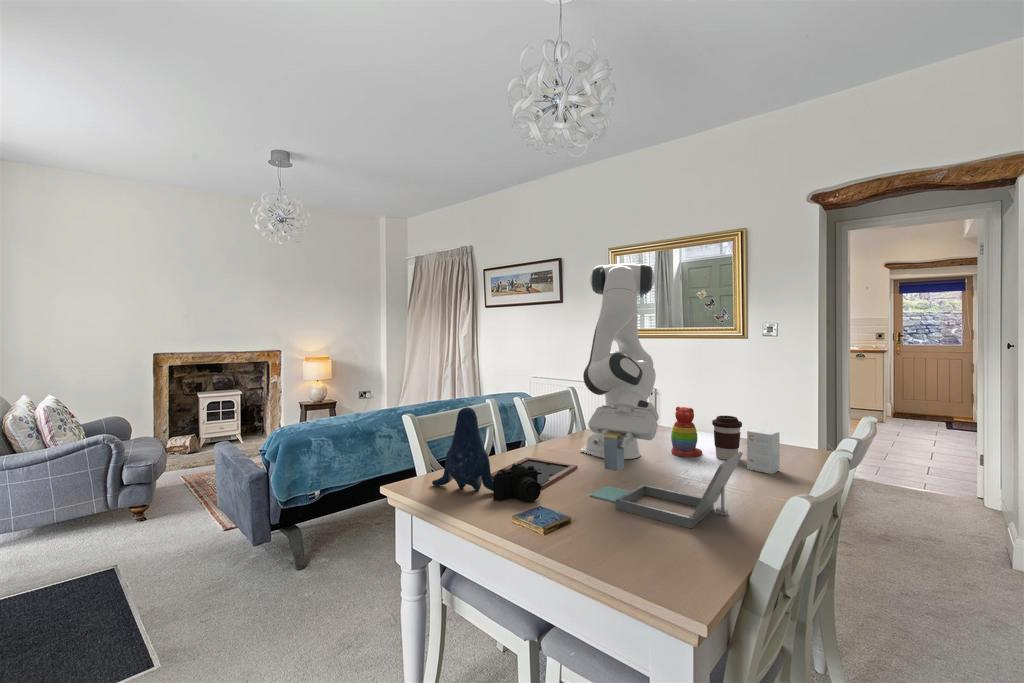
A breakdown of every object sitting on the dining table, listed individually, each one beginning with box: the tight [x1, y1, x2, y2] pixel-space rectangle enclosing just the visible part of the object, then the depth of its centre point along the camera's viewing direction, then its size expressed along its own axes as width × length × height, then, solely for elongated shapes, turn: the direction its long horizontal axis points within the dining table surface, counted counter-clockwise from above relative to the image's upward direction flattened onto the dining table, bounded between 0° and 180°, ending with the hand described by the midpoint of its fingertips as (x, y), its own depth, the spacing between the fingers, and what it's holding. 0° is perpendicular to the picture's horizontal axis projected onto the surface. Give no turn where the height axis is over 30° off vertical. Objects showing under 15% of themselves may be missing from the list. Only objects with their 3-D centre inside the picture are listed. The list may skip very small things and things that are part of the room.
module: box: [603, 432, 625, 472], centre depth 138 cm, size 4×4×10 cm
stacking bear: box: [670, 406, 703, 458], centre depth 183 cm, size 11×10×18 cm
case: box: [615, 451, 744, 529], centre depth 126 cm, size 27×16×16 cm, turn 49°
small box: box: [746, 428, 781, 475], centre depth 162 cm, size 8×6×13 cm
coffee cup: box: [711, 415, 743, 461], centre depth 177 cm, size 10×10×15 cm
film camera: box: [493, 463, 542, 503], centre depth 137 cm, size 15×10×9 cm, turn 121°
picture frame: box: [491, 456, 578, 491], centre depth 160 cm, size 20×2×25 cm
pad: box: [589, 485, 631, 504], centre depth 139 cm, size 10×10×1 cm
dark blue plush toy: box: [431, 407, 494, 492], centre depth 144 cm, size 25×11×25 cm, turn 70°
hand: (612, 446), depth 138 cm, fingers closed on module, 4 cm apart
